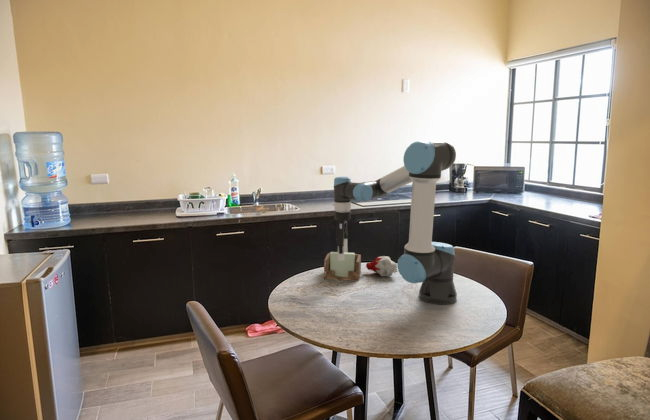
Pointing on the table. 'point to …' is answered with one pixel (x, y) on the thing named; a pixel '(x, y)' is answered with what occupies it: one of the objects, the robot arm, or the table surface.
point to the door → (342, 263)
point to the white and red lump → (382, 266)
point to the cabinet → (351, 274)
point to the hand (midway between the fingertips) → (342, 256)
